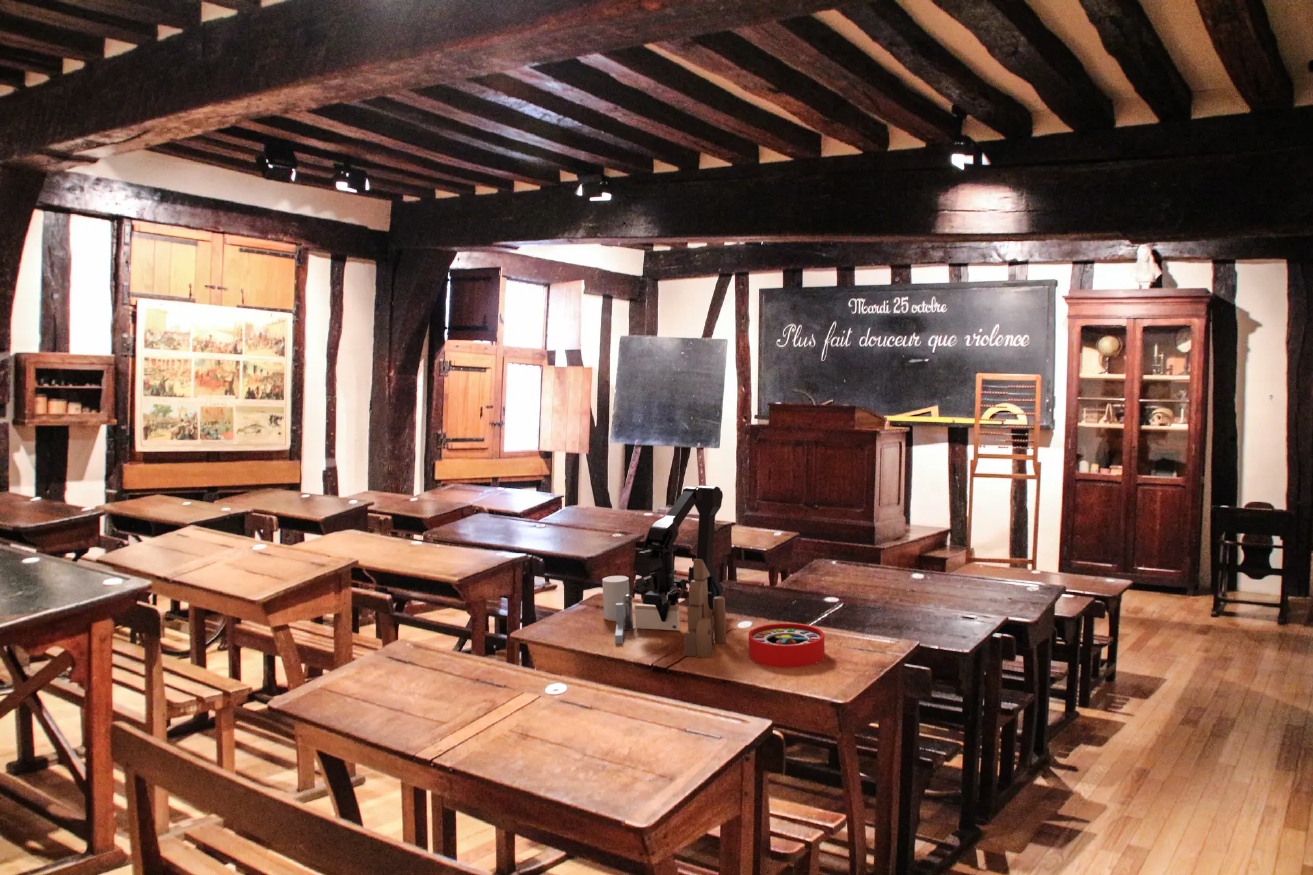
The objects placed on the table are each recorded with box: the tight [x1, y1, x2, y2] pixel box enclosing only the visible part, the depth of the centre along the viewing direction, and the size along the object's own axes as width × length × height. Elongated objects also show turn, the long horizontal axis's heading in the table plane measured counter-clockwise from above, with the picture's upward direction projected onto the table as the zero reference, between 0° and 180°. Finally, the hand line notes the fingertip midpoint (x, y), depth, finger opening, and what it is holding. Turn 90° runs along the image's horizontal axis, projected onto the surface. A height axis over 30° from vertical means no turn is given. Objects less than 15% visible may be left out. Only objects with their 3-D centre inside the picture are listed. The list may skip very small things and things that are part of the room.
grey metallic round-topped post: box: [623, 594, 636, 631], centre depth 290 cm, size 4×4×10 cm
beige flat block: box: [634, 602, 681, 631], centre depth 287 cm, size 13×2×7 cm, turn 71°
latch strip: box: [614, 603, 625, 645], centre depth 281 cm, size 2×14×8 cm, turn 0°
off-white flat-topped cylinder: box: [601, 575, 630, 622], centre depth 301 cm, size 8×8×12 cm
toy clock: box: [747, 622, 826, 668], centre depth 260 cm, size 20×6×20 cm
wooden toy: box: [684, 558, 727, 658], centre depth 267 cm, size 16×7×25 cm, turn 157°
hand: (666, 619), depth 286 cm, fingers open, 3 cm apart
